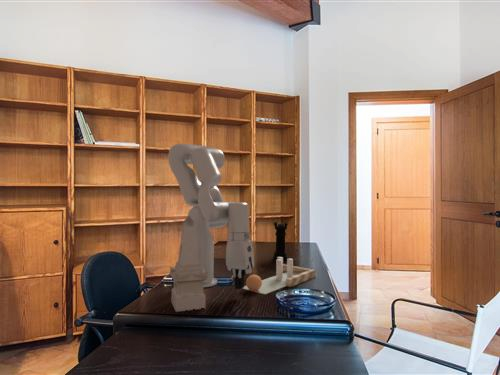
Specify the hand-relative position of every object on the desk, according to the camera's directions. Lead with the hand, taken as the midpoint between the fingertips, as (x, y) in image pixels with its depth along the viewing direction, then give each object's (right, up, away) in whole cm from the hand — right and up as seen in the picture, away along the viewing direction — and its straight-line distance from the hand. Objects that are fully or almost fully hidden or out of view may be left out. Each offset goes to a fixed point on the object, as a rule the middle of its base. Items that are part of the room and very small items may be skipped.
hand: (239, 288), depth 126 cm
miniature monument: (-17, -3, -9) cm, 19 cm away
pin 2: (+21, -3, +23) cm, 31 cm away
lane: (+15, -3, +21) cm, 26 cm away
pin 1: (+17, -3, +26) cm, 31 cm away
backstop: (+19, -3, +27) cm, 33 cm away
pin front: (+16, -3, +21) cm, 27 cm away
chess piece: (+20, -3, +65) cm, 68 cm away
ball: (+5, 0, +8) cm, 10 cm away
